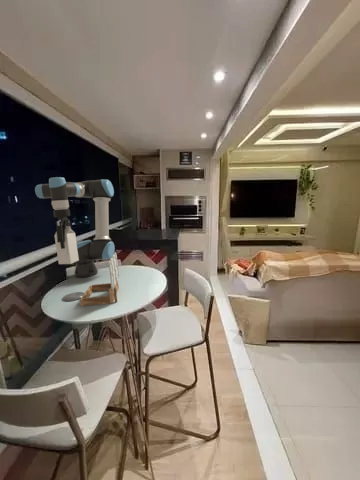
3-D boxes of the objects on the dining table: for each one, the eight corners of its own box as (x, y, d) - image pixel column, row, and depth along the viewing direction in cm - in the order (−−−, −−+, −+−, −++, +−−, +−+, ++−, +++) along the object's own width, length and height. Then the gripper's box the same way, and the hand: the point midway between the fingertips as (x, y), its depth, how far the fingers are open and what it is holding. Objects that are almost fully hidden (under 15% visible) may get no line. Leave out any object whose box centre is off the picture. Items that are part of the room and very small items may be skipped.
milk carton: (70, 264, 131) (65, 227, 127) (58, 264, 132) (53, 227, 129) (79, 260, 138) (74, 225, 134) (67, 260, 139) (62, 225, 136)
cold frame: (91, 290, 146) (86, 254, 142) (122, 287, 147) (118, 252, 144) (81, 306, 126) (75, 264, 122) (116, 302, 127) (112, 261, 124)
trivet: (67, 294, 143) (66, 293, 143) (87, 292, 144) (87, 291, 144) (59, 302, 133) (59, 301, 132) (81, 300, 133) (81, 299, 133)
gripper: (61, 208, 140) (67, 248, 144) (44, 210, 119) (52, 258, 123) (75, 207, 140) (80, 247, 145) (61, 209, 120) (68, 256, 124)
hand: (67, 252), depth 134 cm, fingers closed on milk carton, 8 cm apart
